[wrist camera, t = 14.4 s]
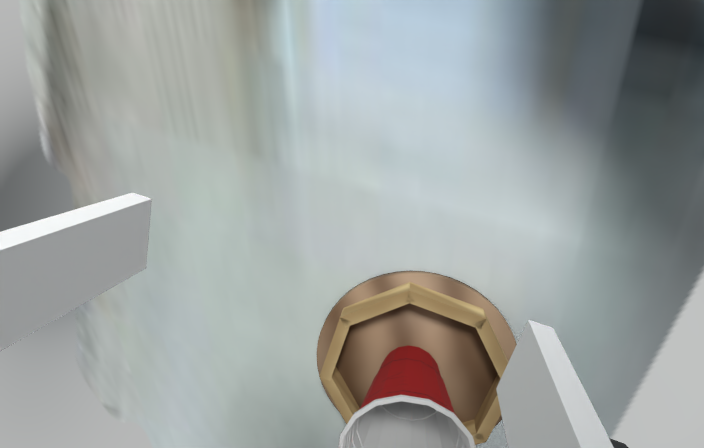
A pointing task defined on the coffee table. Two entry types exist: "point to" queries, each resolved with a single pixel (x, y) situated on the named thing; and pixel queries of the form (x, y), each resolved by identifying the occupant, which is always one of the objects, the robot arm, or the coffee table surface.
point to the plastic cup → (406, 407)
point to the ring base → (418, 342)
